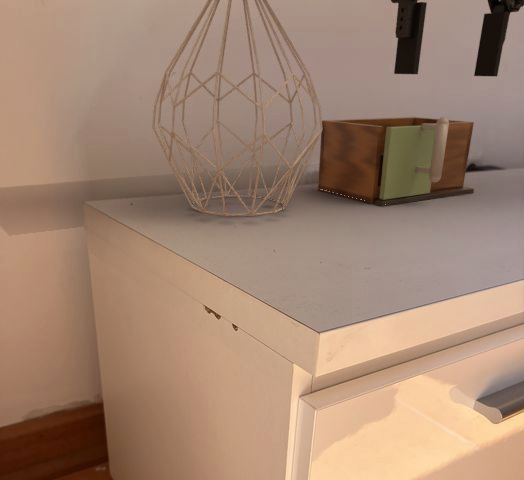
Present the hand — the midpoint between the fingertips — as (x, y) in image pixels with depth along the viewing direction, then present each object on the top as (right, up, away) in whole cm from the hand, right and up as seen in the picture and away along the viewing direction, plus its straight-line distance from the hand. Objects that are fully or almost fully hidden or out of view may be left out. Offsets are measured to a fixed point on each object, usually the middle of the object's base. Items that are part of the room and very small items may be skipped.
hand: (447, 75), depth 64 cm
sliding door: (-2, -12, +6) cm, 14 cm away
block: (-3, -8, +15) cm, 17 cm away
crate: (-3, -9, +15) cm, 18 cm away
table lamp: (-24, -14, +4) cm, 28 cm away
